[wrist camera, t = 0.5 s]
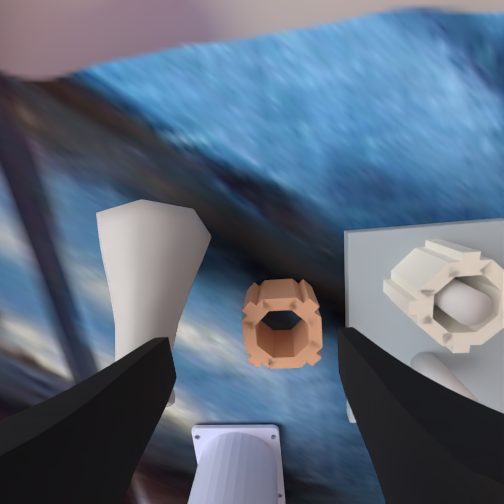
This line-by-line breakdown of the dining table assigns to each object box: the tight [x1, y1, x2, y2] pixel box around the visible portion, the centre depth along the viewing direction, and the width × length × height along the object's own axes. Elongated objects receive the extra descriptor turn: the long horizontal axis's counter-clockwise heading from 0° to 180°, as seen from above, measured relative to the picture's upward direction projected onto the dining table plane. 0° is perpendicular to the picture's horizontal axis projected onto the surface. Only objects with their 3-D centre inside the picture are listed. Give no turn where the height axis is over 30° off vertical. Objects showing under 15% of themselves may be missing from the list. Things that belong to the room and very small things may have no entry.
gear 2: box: [383, 239, 504, 353], centre depth 16 cm, size 5×5×4 cm
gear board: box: [344, 218, 504, 423], centre depth 17 cm, size 16×12×5 cm
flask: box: [96, 199, 212, 407], centre depth 14 cm, size 7×7×10 cm
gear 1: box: [242, 279, 322, 369], centre depth 19 cm, size 5×5×4 cm
